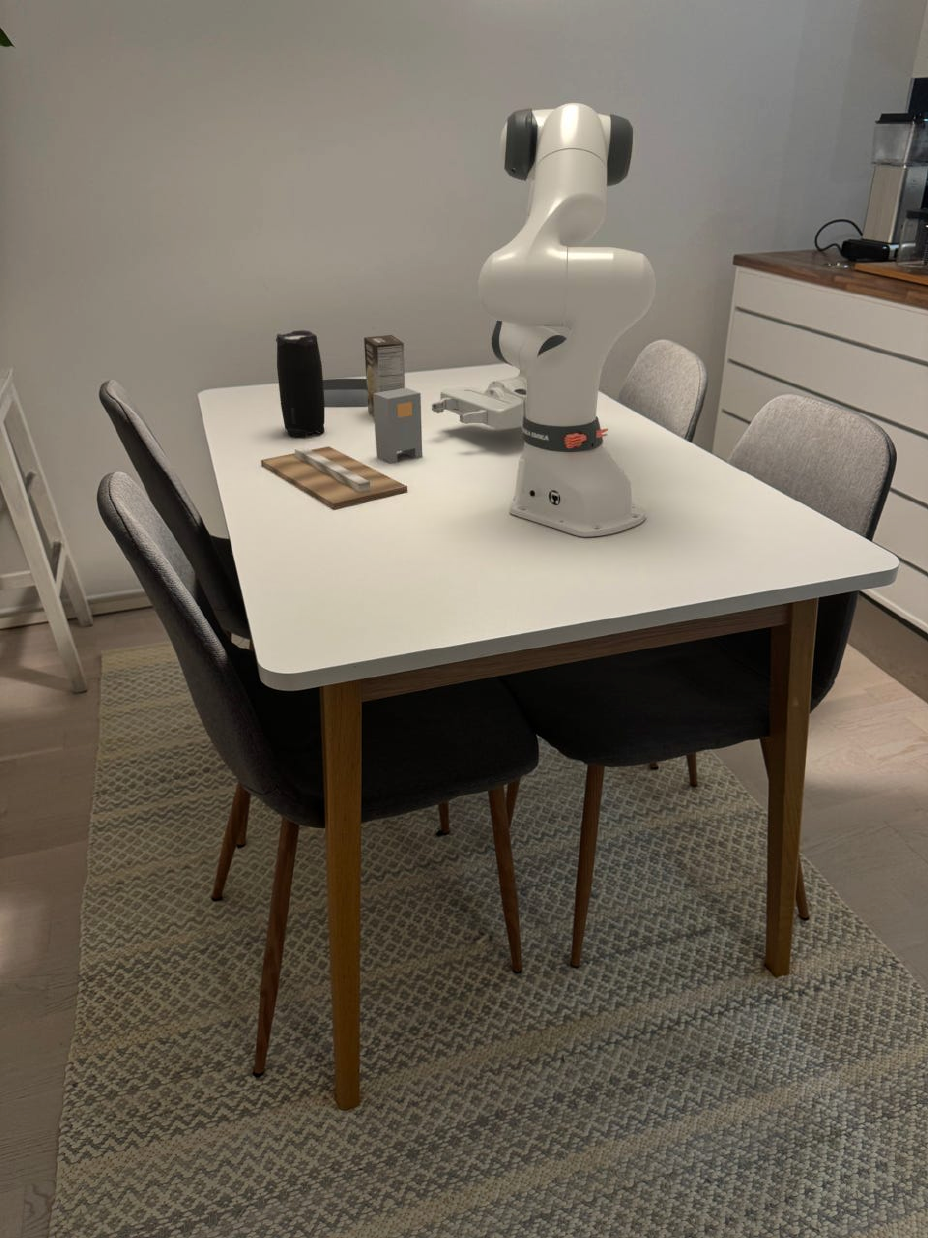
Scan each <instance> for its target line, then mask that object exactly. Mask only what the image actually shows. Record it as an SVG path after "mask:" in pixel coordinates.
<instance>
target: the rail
mask: <svg viewBox="0 0 928 1238" xmlns="http://www.w3.org/2000/svg"><path fill="white" fill-rule="evenodd" d="M260 465H261V466H262V467H263V468H265V469H266V470H268V471H270V472H272V473H274V474H275V475H277V476H278V477H280V478H281V479H283V480H285V481H287V482H289V484H291V485H293V486H294V487H296V488H298V489H300V490H301V491H302V492H304V493H306V494H308V495H309V496H311V497H312V498H314V499H316V500H317V501H319V502H321V503H322V504H324V505H326V506H327V507H329V508H330V509H333V510H337V509H343V508H346V507H350V506H355V505H358V504H363V503H367V502H370V501H374V500H375V501H376V500H380V499H383V498H384V499H385V498H387V497H392V496H395V495H398V494H399V495H400V494H403V493H408V485H406V484H403V483H402V482H400V481H398V480H396V479H394V478H392V477H390V476H388V475H386V474H384V473H382V472H380V471H379V470H376V469H374V468H372V467H370V466H368V465H366V464H364V463H362V462H361V461H359V460H357V459H354V458H352V457H351V456H348V455H347V454H345V453H342V452H341V451H340V450H337V449H335V448H333V447H332V446H324V447H318V448H314V449H310V448H307V447H306V446H302V447H298V448H297V447H296V448H294V452H292V453H288V454H284V455H280V456H273V457H269V458H265V459H264V458H263V459H260Z"/></svg>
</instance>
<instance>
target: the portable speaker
mask: <svg viewBox="0 0 928 1238" xmlns="http://www.w3.org/2000/svg"><path fill="white" fill-rule="evenodd" d="M275 342H276V369H277V371H276V372H277V378H278V379H277V380H278V391H279V398H280V408H281V413H282V417H283V423H284V429H285V430H286V432H287V434H288V436H289V437H291V438H301V439H303V438H304V439H306V437H307V436H308V434H312V433H318V434H319V435H324V432H325V430H326V429H325V408H326V407H325V403H324V388H323V380H324V378H323V377H324V376H323V366H322V359H321V354H320V353H321V352H320V348H319V344H318V337H317V335H316V334H315V333H313V332H312V331H310V330H304V329H303V330H301V329H300V330H293V331H291V332H288V333H283V334H281V333H277V334H276V337H275Z"/></svg>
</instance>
